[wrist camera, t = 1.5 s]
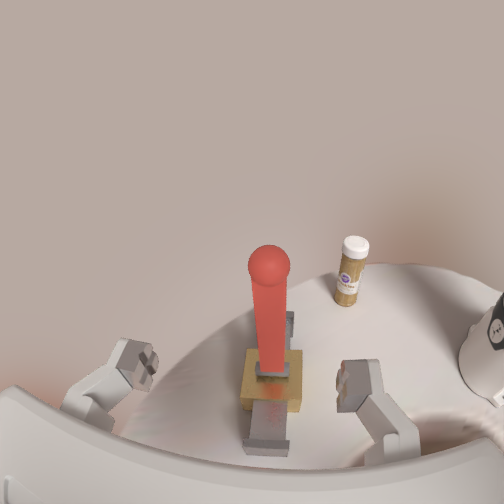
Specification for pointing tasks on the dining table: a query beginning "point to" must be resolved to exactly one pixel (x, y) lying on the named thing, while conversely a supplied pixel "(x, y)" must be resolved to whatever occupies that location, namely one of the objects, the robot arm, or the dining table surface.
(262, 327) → the lever
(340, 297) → the sprinkles bottle
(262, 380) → the valve body
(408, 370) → the dining table surface
